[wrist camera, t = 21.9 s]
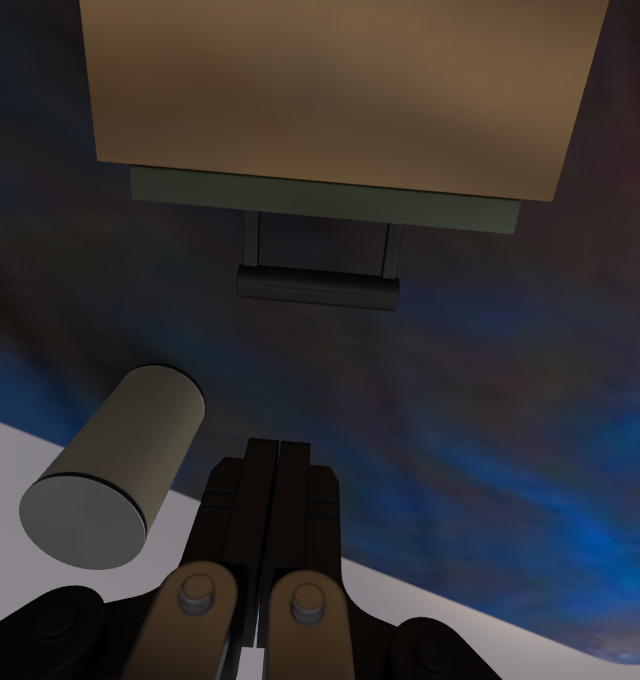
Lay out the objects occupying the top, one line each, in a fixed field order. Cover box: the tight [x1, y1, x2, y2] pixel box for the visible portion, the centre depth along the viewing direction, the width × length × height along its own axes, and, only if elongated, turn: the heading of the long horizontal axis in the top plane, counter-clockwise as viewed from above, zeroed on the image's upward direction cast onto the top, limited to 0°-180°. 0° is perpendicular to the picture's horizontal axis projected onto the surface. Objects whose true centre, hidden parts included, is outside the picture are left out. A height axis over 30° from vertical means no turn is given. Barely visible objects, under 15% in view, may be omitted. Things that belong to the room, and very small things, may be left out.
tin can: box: [19, 364, 206, 570], centre depth 25 cm, size 6×6×10 cm
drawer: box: [129, 164, 522, 311], centre depth 18 cm, size 17×14×7 cm
